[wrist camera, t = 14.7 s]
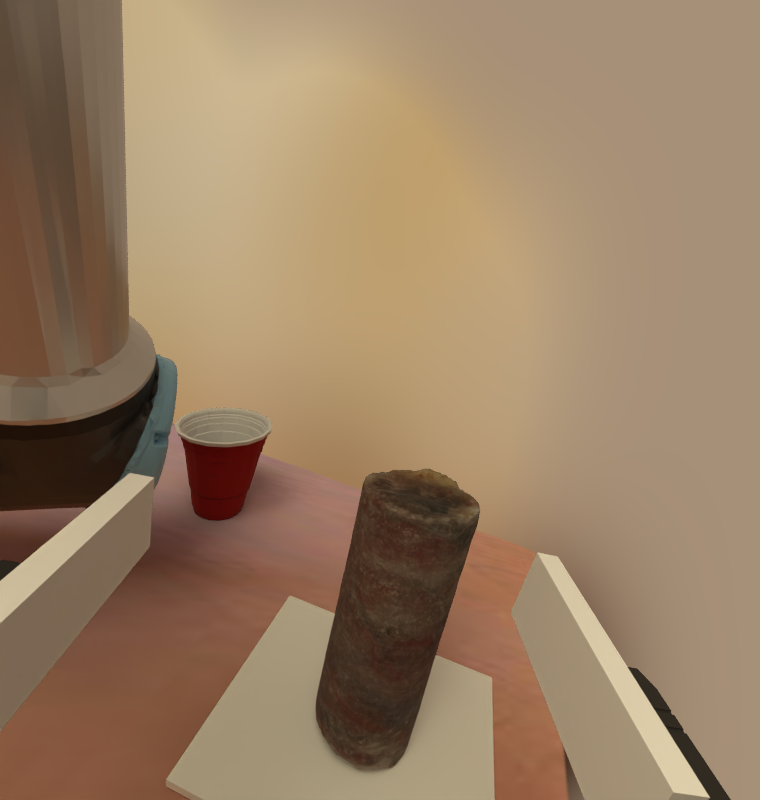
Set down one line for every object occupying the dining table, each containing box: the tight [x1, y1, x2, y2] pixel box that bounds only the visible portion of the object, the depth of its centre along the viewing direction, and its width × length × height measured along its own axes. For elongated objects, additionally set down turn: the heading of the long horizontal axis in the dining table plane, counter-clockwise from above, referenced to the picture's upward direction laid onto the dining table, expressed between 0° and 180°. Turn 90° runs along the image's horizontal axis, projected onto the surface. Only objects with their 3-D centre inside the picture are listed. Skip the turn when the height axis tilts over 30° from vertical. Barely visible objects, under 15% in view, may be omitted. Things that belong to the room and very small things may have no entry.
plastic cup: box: [175, 408, 272, 520], centre depth 48 cm, size 11×11×12 cm
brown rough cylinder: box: [316, 469, 480, 770], centre depth 26 cm, size 8×7×20 cm
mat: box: [166, 596, 495, 800], centre depth 29 cm, size 20×16×1 cm
